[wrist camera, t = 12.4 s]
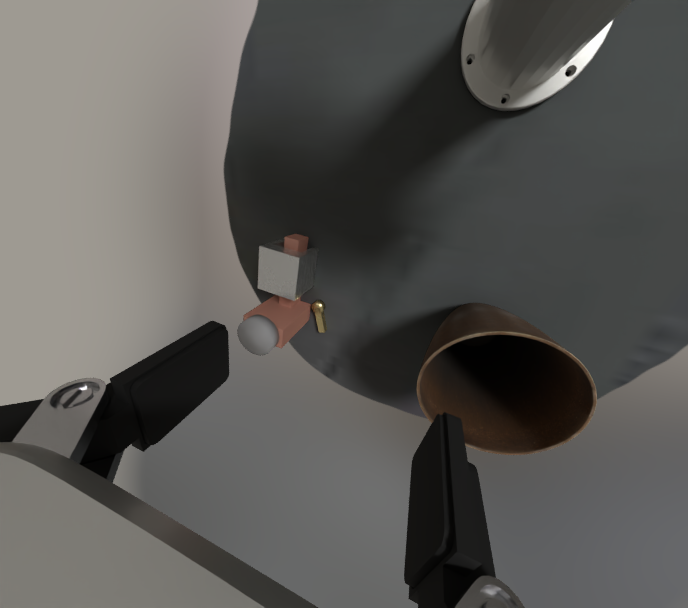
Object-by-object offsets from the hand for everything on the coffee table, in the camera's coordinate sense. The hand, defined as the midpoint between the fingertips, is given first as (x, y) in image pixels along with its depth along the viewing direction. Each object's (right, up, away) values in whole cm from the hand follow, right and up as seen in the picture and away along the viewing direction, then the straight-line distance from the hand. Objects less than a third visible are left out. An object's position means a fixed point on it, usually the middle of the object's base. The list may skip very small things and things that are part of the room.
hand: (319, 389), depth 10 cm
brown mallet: (-8, +8, +34) cm, 36 cm away
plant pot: (+21, +1, +28) cm, 34 cm away
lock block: (-7, +11, +33) cm, 35 cm away
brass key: (-3, +1, +36) cm, 36 cm away
